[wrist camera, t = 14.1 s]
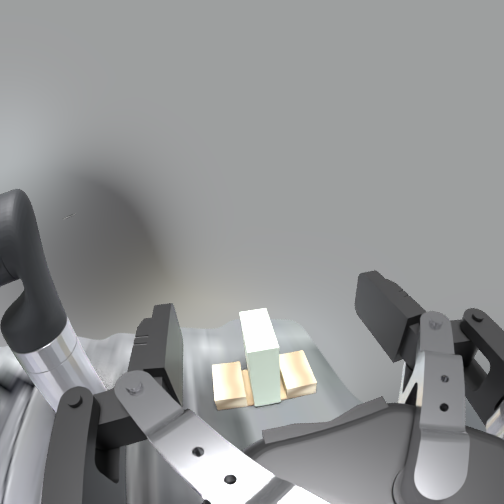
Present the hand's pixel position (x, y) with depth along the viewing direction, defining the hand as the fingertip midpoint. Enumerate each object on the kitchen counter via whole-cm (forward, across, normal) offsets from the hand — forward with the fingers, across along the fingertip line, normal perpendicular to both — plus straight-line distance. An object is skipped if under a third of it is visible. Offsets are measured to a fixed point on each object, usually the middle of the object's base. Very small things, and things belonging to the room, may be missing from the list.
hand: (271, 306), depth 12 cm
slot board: (+17, -2, +27) cm, 32 cm away
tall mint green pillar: (+17, -2, +27) cm, 32 cm away
